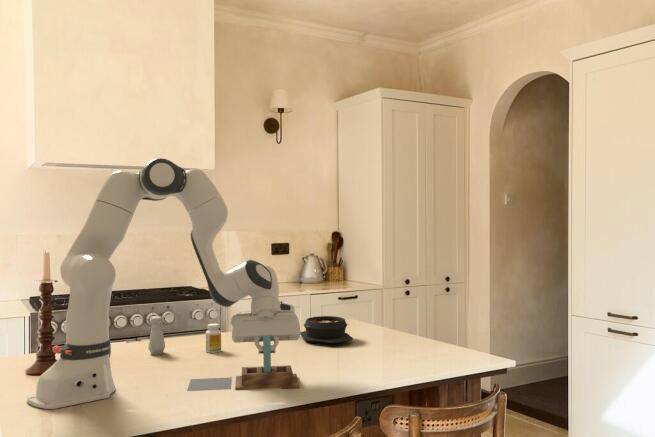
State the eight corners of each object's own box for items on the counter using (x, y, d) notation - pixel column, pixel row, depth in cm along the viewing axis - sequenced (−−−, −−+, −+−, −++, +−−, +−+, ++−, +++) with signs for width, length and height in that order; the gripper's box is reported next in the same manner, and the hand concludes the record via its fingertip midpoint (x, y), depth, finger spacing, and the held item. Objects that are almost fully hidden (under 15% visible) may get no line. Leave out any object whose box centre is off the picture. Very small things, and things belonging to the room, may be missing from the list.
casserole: (288, 338, 240) (287, 317, 240) (326, 332, 251) (326, 312, 251) (324, 350, 219) (324, 326, 219) (364, 343, 230) (364, 321, 230)
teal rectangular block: (263, 372, 175) (263, 338, 175) (263, 369, 179) (263, 335, 179) (270, 372, 175) (270, 337, 175) (270, 368, 179) (269, 335, 179)
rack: (235, 391, 170) (235, 376, 170) (236, 379, 182) (235, 366, 182) (299, 388, 172) (299, 374, 172) (296, 376, 184) (296, 363, 184)
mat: (186, 392, 169) (186, 390, 169) (190, 380, 181) (190, 379, 181) (230, 390, 171) (230, 388, 171) (231, 378, 182) (231, 377, 182)
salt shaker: (144, 354, 215) (144, 317, 215) (156, 350, 220) (156, 314, 220) (157, 356, 212) (156, 318, 212) (168, 352, 217) (168, 316, 217)
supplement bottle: (224, 350, 219) (224, 323, 219) (214, 353, 215) (214, 326, 215) (212, 349, 222) (212, 322, 222) (202, 352, 217) (202, 325, 217)
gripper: (230, 307, 182) (230, 347, 173) (299, 305, 185) (302, 344, 175) (231, 320, 187) (230, 359, 177) (298, 317, 189) (301, 356, 180)
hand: (267, 352), depth 176 cm, fingers closed on teal rectangular block, 2 cm apart
